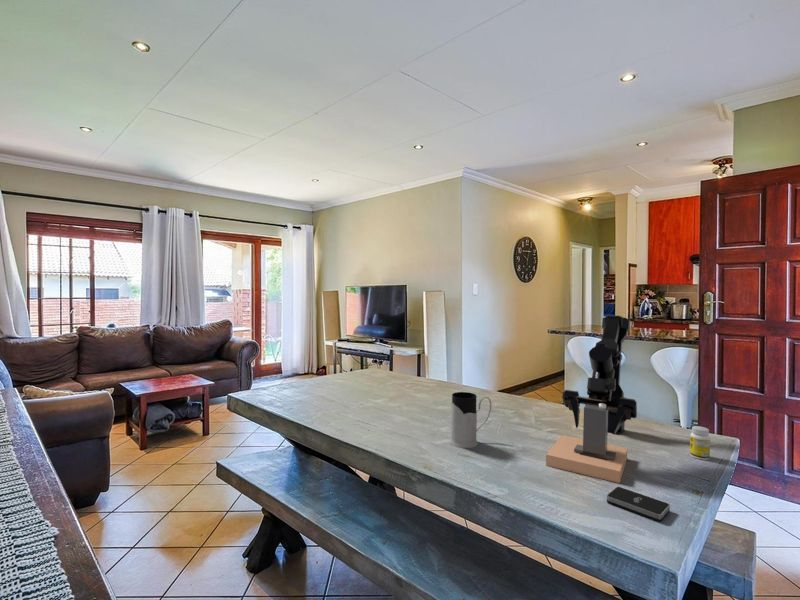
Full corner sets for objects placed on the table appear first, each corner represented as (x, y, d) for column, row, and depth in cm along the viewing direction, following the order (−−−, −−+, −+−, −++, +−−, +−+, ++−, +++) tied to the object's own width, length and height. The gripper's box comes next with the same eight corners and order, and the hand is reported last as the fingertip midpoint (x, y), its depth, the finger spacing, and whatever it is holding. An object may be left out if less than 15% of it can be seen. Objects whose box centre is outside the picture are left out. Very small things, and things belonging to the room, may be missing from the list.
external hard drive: (617, 494, 99) (617, 486, 99) (670, 513, 91) (671, 504, 91) (605, 504, 95) (605, 495, 94) (661, 525, 86) (661, 515, 86)
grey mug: (444, 439, 133) (445, 392, 132) (483, 434, 138) (483, 389, 137) (458, 449, 124) (458, 399, 124) (498, 443, 130) (499, 395, 129)
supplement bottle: (690, 452, 124) (691, 424, 124) (710, 456, 121) (711, 427, 121) (688, 457, 120) (689, 428, 120) (709, 461, 117) (710, 432, 117)
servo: (573, 463, 116) (575, 401, 115) (576, 458, 119) (578, 398, 118) (613, 472, 110) (615, 408, 110) (615, 467, 113) (617, 404, 113)
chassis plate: (561, 444, 129) (561, 435, 129) (627, 458, 119) (627, 448, 119) (545, 465, 114) (546, 454, 114) (619, 483, 104) (620, 471, 104)
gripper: (564, 362, 122) (554, 408, 113) (637, 370, 112) (632, 421, 103) (569, 383, 129) (560, 429, 120) (639, 393, 118) (634, 443, 110)
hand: (594, 430), depth 113 cm, fingers open, 9 cm apart
